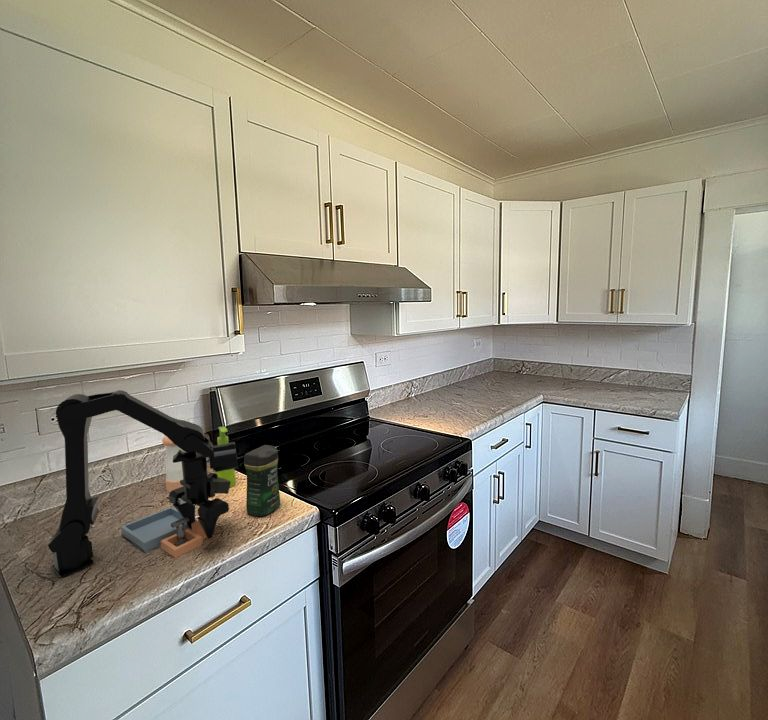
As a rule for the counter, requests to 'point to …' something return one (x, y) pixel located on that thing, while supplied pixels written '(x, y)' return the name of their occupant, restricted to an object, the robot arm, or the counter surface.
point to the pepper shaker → (172, 466)
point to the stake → (180, 530)
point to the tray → (152, 529)
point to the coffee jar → (262, 480)
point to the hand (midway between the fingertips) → (200, 532)
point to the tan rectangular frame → (195, 541)
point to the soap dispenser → (230, 473)
